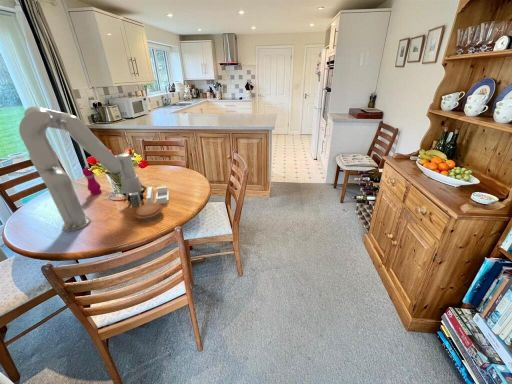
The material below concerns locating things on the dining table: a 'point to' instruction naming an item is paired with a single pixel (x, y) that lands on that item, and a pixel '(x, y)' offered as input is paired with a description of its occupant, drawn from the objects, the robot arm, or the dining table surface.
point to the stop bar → (135, 199)
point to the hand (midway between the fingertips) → (136, 200)
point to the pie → (148, 211)
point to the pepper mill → (92, 182)
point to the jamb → (158, 195)
